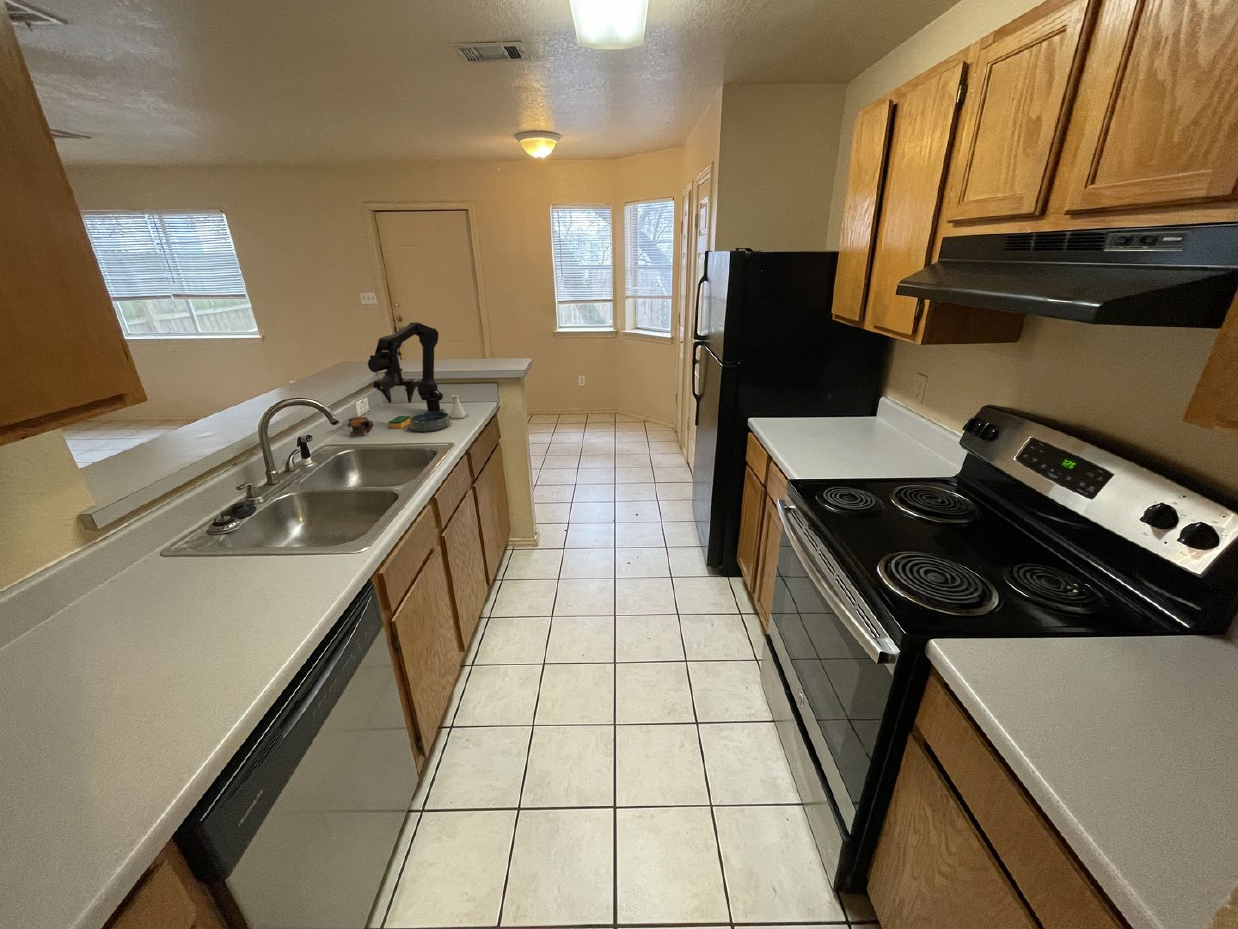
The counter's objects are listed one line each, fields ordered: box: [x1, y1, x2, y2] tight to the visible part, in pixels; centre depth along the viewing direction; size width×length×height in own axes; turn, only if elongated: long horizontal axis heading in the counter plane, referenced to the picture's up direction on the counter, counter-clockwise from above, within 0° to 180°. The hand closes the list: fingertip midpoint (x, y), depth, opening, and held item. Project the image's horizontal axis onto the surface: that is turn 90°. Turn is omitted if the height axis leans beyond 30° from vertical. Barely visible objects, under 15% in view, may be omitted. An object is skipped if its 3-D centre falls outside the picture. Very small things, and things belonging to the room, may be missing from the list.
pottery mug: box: [346, 416, 374, 438], centre depth 215 cm, size 12×10×8 cm
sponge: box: [388, 415, 412, 429], centre depth 225 cm, size 9×6×3 cm, turn 173°
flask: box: [450, 394, 467, 419], centre depth 233 cm, size 7×7×10 cm
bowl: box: [409, 411, 451, 433], centre depth 221 cm, size 16×16×4 cm
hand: (400, 402), depth 222 cm, fingers open, 9 cm apart
